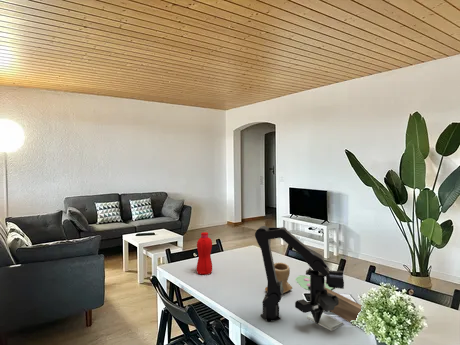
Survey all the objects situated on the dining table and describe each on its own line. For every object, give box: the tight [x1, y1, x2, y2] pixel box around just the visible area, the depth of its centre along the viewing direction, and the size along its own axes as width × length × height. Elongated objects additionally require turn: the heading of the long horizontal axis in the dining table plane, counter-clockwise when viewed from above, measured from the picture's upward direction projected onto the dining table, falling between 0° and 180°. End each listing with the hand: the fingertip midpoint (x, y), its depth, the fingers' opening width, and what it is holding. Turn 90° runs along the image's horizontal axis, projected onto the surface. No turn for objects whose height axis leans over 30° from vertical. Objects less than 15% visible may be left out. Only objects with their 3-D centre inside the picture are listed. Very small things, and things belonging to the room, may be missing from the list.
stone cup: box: [264, 262, 293, 294], centre depth 159 cm, size 15×12×15 cm
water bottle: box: [196, 232, 213, 276], centre depth 188 cm, size 9×11×25 cm
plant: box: [294, 275, 334, 291], centre depth 171 cm, size 25×21×9 cm
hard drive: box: [306, 312, 345, 332], centre depth 128 cm, size 2×8×12 cm
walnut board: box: [324, 287, 363, 323], centre depth 132 cm, size 3×26×8 cm, turn 26°
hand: (316, 323), depth 126 cm, fingers closed
